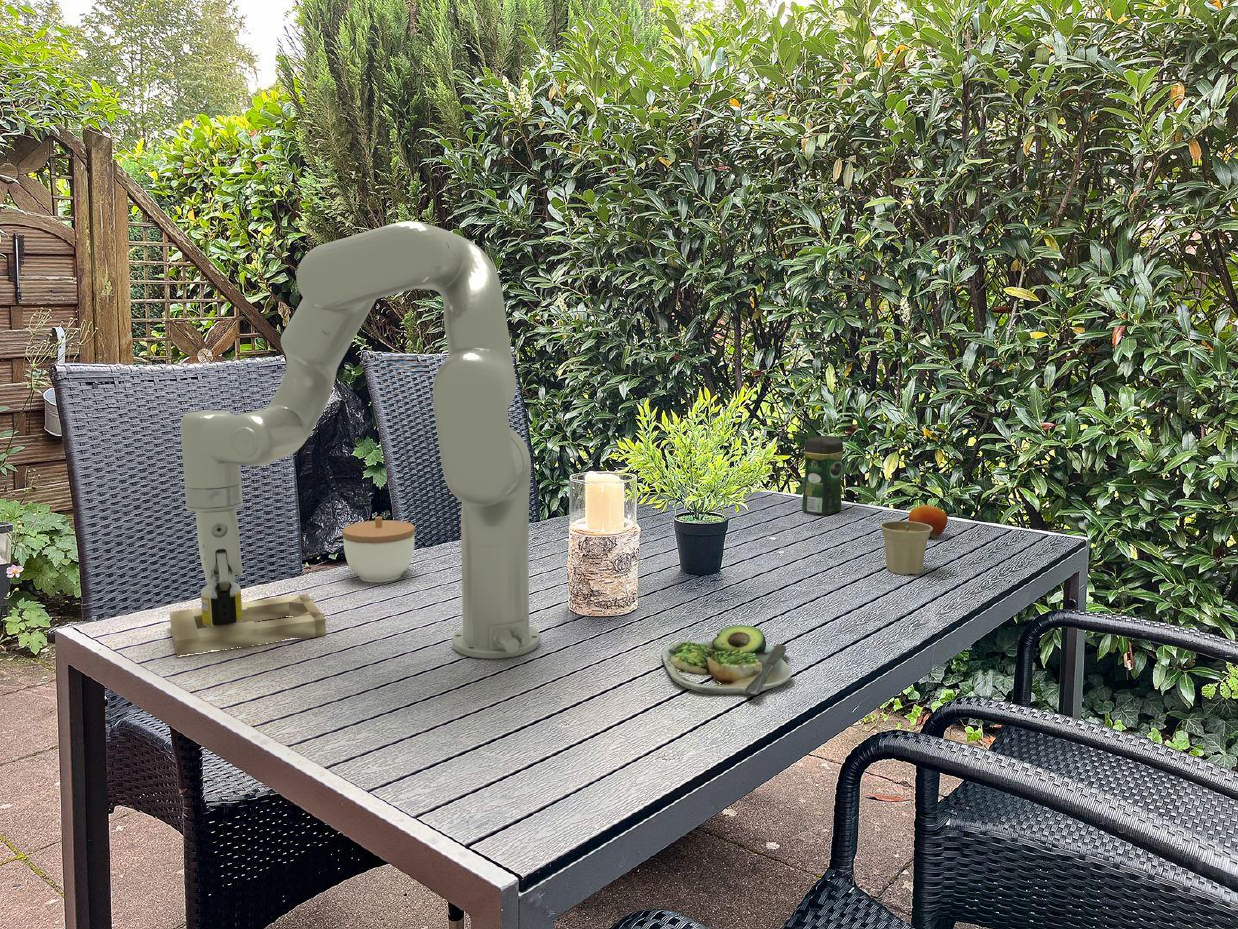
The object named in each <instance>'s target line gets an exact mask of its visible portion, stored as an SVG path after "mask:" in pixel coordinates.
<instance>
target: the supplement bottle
mask: <svg viewBox="0 0 1238 929" xmlns="http://www.w3.org/2000/svg"><path fill="white" fill-rule="evenodd" d="M231 571H232V569H231ZM204 575H205V574H204ZM216 576H219V575H218V573H214V577H216ZM204 577H205V578H204V579H205V583H207V584H206V585H205V586H203V587H202V589H201V591H200V599H201V602H200V603H201V608H202V619H203V628H207V627H214V625H213V623H212V611H211V598H213V595H212V585H211V580H210V579H208V578H207V577H206V575H205V576H204ZM235 580H236V574H235V575H234V573H233V571H232V581H233V591H234V595H235V602H236V618H237V621H236V622H235V623H243V620H242V591H241V586H240V585H239V584H238V583H237V582H235ZM217 583H219V581H216V586H217ZM235 623H232V624H235ZM225 625H228V624H225ZM218 626H221V625H218Z"/></svg>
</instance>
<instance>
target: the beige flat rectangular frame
mask: <svg viewBox="0 0 1238 929" xmlns="http://www.w3.org/2000/svg"><path fill="white" fill-rule="evenodd" d="M241 602H242V601H241ZM324 614H325V613H324V612H321V611H320V610H319V608H318V606H317V605H316V604H315V602H314V598H311V597H310V596H309V593H305V594H297V595H290V596H282V597H274V598H267V599H266V598H265V599H259V600H258V599H257V600H250V601H243V602H242V620H243V623H235V624H228V625H221V626H214V627H207V628H203V619H202V607H197V608H189V609H182V610H174V611H169V621H170V622H169V623H170V631H171V630H172V631H171V634H172V635H173V636H172V640H173V639H174V641H173V645H174V644H175V645H174V650H175V649H176V650H175V653H176V654H177V655H176V654H175V655H176V657H177V656H180V655H187V654H195V653H203V652H208V651H211V650H223V649H224V650H225V649H231V648H237V647H238V648H239V647H246V646H252V645H258V644H266V643H271V642H276V641H282V640H285V639H290V638H305V639H310V638H311V637H312V638H316V637H324V636H327V628H326V627H327V626H326V618H325V616H324ZM286 616H293V617H292V618H291V617H288V618H282V617H286ZM277 618H281V619H277ZM267 619H274V620H267ZM262 620H267V621H262ZM258 621H260V622H258ZM266 645H267V644H266ZM246 648H247V647H246ZM239 649H240V648H239Z"/></svg>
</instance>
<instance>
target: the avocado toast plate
mask: <svg viewBox="0 0 1238 929" xmlns="http://www.w3.org/2000/svg"><path fill="white" fill-rule="evenodd" d="M786 652H787V646H786V645H784V644H782V643H781V644H780V643H777V644H776V645H769V644H768V643H767V640H766V637H765V635H764V633H763V632H762V630H760V628H757V627H755V626H752V625H746V624H745V625H744V624H738V625H734V626H733V625H732V626H728V627H725V628H723V629H721V630H720V631H718V632H716V637H715V638H713V639H712V640H711V641H710V640H709V641H708V640H702V641H701V640H699V641H698V640H687V641H685V640H684V641H677V642H673V643H671V644H668V645H667V646H665V647H664V648H663V649H662V651H661V654H660V655H661V663H662V665H663V666H664V667H665V669H666V672H667V674H668V675H669V676H670V678H672V680H673V681H674V682H675V683H676V684H678V685H680V686H682V687H683V688H685V689H687V688H688V689H687V690H690V689H691V690H690V691H693V692H697V693H699V694H700V693H701V694H705V693H707V694H708V695H713V694H714V695H715V694H730V695H751V696H757V695H760V693H761V692H764V691H768V690H770V689H773V688H776V687H779V686H780V685H783V684H784V683H787V682H788V681H790V680H791V678H792V674H793V673H792V671H791V668H790V667H789V665H788V664H787V662H786V661H785V660H784V659H783V656H784V655H786ZM678 670H683V671H682V672H685V671H687V672H686V673H690V672H692V673H691V674H697V673H700V674H699V675H703V674H705V676H708V675H711V676H712V677H713V678H712V677H711V678H712V679H714V678H715V679H716V680H715V679H714V682H715V681H718V682H720V683H721V684H720V685H718V684H715V685H712V684H711V685H709V684H704V683H699V682H696V681H693V680H690V679H687V678H686V677H684V676H683V675H682V676H683V677H682V676H681V674H682V673H681V672H680V673H681V674H680V673H679V671H678ZM685 678H686V679H685ZM715 696H716V695H715Z"/></svg>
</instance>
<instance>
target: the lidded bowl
mask: <svg viewBox="0 0 1238 929" xmlns="http://www.w3.org/2000/svg"><path fill="white" fill-rule="evenodd" d="M341 532H342V539H343V550H344V555H345V559H346V562H347V564H348V566H349V568H350V569H351V570H352V572H353V573H354V574H355V575H356V576H358V577H359V580H360V581H362V582H364V583H365V582H366V583H373V584H374V583H388V582H392V581H393V582H394V581H396V580H398V579H399V580H400V578H401V577H402V574H403V573H404V572H405V571H406V570H407V569H408V568H409V566H410V565H411V563H412V560H413V557H414V551H415V534H416V527H415V525H414V524H412V523H410V522H407V521H402V520H393V519H392V520H390V519H389V520H387V519H385V520H383V517H382V516H375V517H374V520H367V521H361V522H356V523H352V524H349V525H347V526H345V527H343V528H342V531H341Z"/></svg>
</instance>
